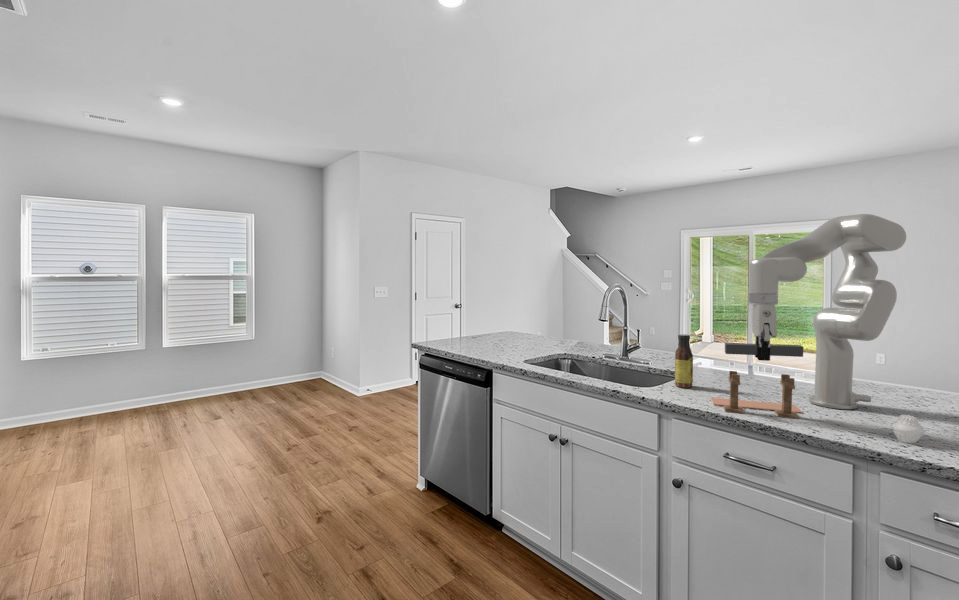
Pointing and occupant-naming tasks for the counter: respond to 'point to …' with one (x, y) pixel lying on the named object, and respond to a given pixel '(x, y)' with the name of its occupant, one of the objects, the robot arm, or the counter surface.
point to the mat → (754, 404)
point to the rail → (774, 349)
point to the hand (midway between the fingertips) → (762, 358)
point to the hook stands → (785, 412)
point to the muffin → (907, 429)
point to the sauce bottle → (683, 363)
